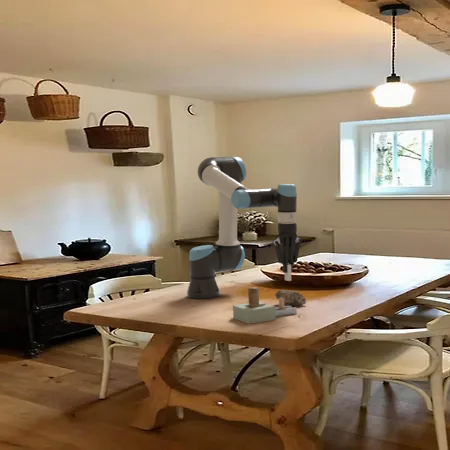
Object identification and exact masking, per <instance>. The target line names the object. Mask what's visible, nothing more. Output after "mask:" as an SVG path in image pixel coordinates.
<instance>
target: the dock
mask: <svg viewBox="0 0 450 450" xmlns="http://www.w3.org/2000/svg"><path fill="white" fill-rule="evenodd" d="M275 308H276V306H274V305H271V304H266V303H265V302H262V301H259V307H256V308H249V302H248V303H240V304H233V305H232V311H233V312H232V314H233V315H232V316H233V319H235V320H238V321H240V322H243V323H245V324H247V325H250V324H254V323H255V324H256V323H262V322H268V321H274V320H275V321H276V317H275Z"/></svg>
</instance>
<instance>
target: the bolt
mask: <svg viewBox="0 0 450 450" xmlns="http://www.w3.org/2000/svg"><path fill="white" fill-rule="evenodd" d="M278 305H279V306H277V307H275V310H281V309H285V306H286V304H285V301H284V298H279V299H278Z"/></svg>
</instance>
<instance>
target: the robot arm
mask: <svg viewBox="0 0 450 450" xmlns="http://www.w3.org/2000/svg"><path fill="white" fill-rule="evenodd" d="M197 176H198V179H199V180H200V181H201V182H202V183H203V184H204V185H207V186H208V187H210V186H211V187H213V188H214V189H216V190H217V191H219V196H218V197H219V201H218V202H219V203H218V205H219V206H218V216H219V217H218V220H219V221H218V240H217V241H215V246H214V245H212V244H205V245H200V246H198V245H197V246H195V247H193V248H191V249H190V250H189V257H188V260H189V277H190V279H189V284H188V287H187V291H186V294H187V295H186V296H187V297H186V298H189V299H194V300H195V299H196V300H207V299H214V298H218V297H219V296H220V288H219V286H218V283H217V281H216V273H220V272H228V271H229V272H232V271H235V270H236V271H237V270H239V269H241V268H242V266H243V265H244V263H245V259H246V253H245V249H244V247H243V246H242V245H241V241H239V240H238V209H241V210H246V209H255V208H256V209H257V208H269V207H274V208H277V222H278V223H277V232H278V234H277V238H276V239H275V240H272V244H273V246H274V249H275V253H276V258H277V262H278V264H281V265H282V272H283V273H284V281H288V282H291V281H292V273H293V270H294V269H293V267H294V266H293V265H294V264H296V263H298V259H299V253H300V247H301V244H302V241H303V239H302V238H300V237H298V235H297V230H298V229H297V228H298V226H297V225H298V224H297V223H296V222H297V221H298V220H297V198H298V197H297V196H298V195H297V187H296V184H294V183H280V184H278V185H277V188H274V187H266V188H259V189H258V188H257V189H254V188H253V189H251V188H250V189H249V188H248V187H246V186H245V185H243V184H242V182H244V181H245V180H246V178H247V168H246V164H245V162H244V160H242V158H241V157H238V156H216V157H215V156H211V157H207V158H205V159H203V160H202V161H201V162H200V163H199V165H198V167H197Z"/></svg>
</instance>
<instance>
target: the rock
mask: <svg viewBox="0 0 450 450" xmlns="http://www.w3.org/2000/svg"><path fill="white" fill-rule="evenodd" d="M274 296H275V297H276V299H277V300H279V298H284V301H285V306H291V307H296V306H298V307H299V306H304V305H307V304H306V303H307V299H306V298H305V296H304V295H303V293H301V292H299V291H297V290H288V289H287V290H286V289H284V290H283V289H279V290H277V291H276V292H275V295H274Z"/></svg>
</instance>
